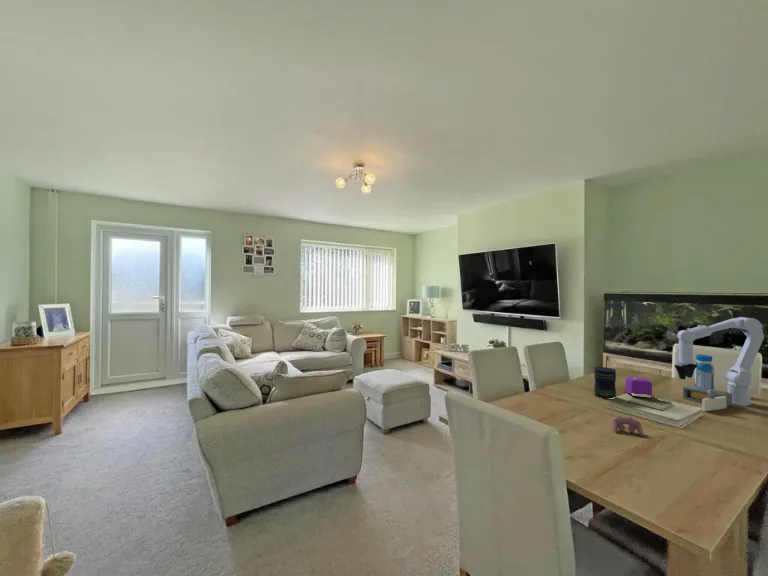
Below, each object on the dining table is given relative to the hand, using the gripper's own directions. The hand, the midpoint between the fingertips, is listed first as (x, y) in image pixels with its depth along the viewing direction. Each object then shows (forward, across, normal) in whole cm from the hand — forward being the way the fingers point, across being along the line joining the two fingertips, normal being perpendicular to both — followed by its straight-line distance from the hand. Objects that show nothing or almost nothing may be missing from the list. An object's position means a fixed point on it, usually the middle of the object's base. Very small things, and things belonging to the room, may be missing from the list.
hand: (685, 378), depth 177 cm
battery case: (+10, -2, +8) cm, 13 cm away
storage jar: (+11, +38, -20) cm, 44 cm away
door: (+10, +11, +15) cm, 21 cm away
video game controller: (+11, +77, +11) cm, 78 cm away
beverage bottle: (+11, -27, -2) cm, 29 cm away
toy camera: (+11, +19, -14) cm, 26 cm away
